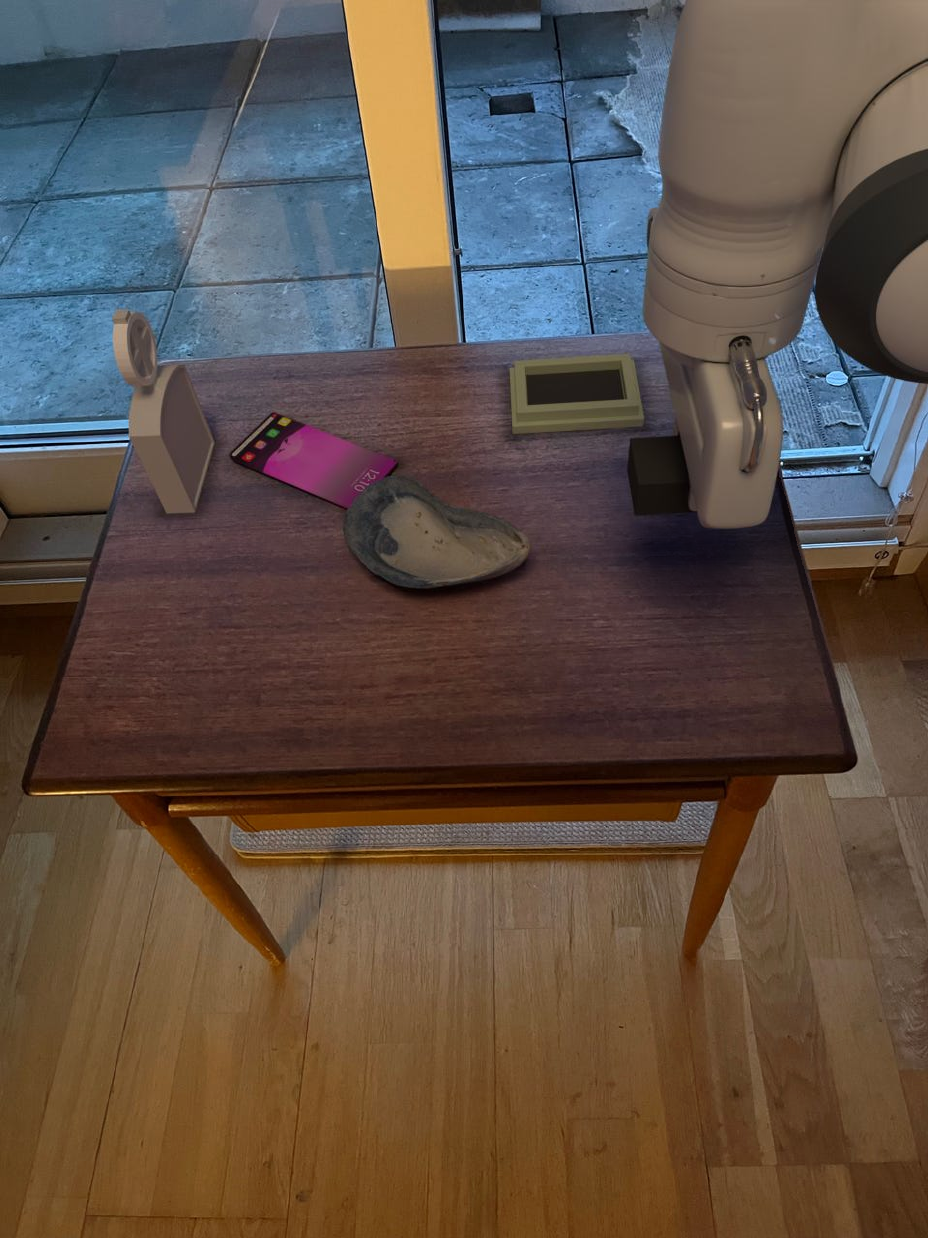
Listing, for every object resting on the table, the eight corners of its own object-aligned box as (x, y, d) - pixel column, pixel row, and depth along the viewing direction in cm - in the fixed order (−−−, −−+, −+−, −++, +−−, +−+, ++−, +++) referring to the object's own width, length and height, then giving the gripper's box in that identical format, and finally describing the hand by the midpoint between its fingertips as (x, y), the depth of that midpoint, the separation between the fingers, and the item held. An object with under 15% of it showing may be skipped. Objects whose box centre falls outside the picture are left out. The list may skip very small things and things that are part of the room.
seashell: (515, 492, 83) (513, 451, 79) (535, 600, 75) (534, 560, 71) (347, 513, 83) (337, 473, 79) (350, 623, 75) (339, 584, 71)
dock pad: (633, 367, 92) (634, 349, 90) (643, 426, 87) (645, 408, 85) (509, 375, 93) (509, 357, 91) (512, 434, 87) (511, 416, 86)
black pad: (742, 463, 63) (750, 430, 61) (755, 509, 61) (764, 477, 58) (626, 470, 64) (629, 437, 61) (634, 516, 61) (638, 484, 59)
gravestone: (215, 442, 90) (151, 279, 76) (195, 512, 84) (121, 350, 70) (188, 443, 90) (119, 280, 76) (166, 513, 85) (87, 351, 70)
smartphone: (276, 417, 91) (273, 410, 91) (400, 463, 86) (399, 456, 85) (229, 462, 88) (227, 455, 87) (356, 514, 82) (354, 507, 82)
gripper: (833, 409, 44) (774, 590, 55) (748, 188, 56) (714, 372, 67) (699, 418, 44) (668, 596, 55) (644, 195, 56) (627, 377, 67)
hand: (693, 471), depth 61 cm, fingers closed on black pad, 4 cm apart
